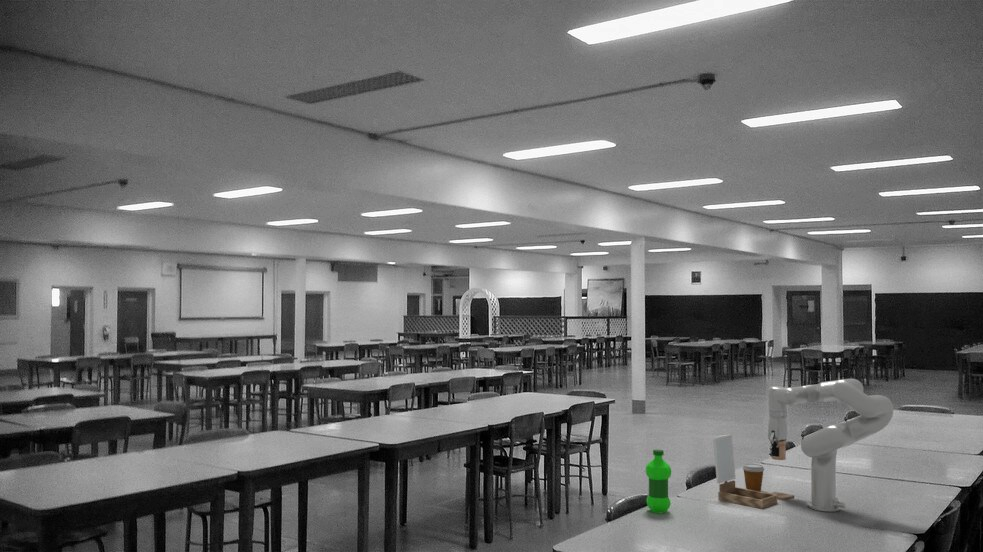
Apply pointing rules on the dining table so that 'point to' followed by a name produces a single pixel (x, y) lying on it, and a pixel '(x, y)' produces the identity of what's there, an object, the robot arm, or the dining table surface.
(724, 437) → the lid
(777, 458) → the pot
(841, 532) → the dining table surface
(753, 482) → the disposable coffee cup
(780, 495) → the board
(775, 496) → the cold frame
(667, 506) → the plastic bottle
